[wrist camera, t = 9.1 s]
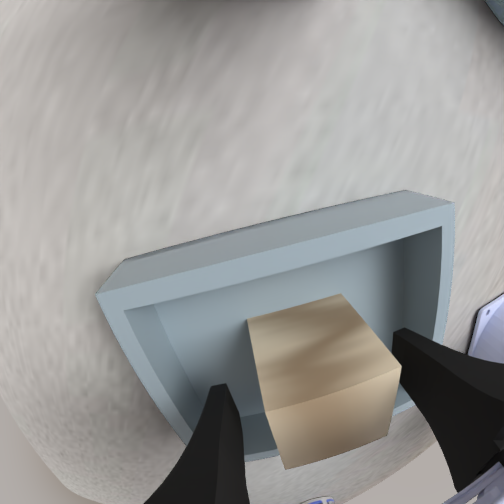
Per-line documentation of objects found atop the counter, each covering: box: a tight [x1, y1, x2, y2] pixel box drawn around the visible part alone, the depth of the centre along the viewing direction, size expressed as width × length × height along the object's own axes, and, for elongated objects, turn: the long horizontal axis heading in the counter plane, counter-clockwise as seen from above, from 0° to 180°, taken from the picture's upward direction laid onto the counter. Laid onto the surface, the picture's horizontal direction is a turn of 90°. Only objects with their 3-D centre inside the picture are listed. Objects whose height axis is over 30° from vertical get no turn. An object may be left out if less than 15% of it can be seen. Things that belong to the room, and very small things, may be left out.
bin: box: [95, 190, 455, 462], centre depth 12 cm, size 14×12×4 cm
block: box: [247, 293, 402, 470], centre depth 11 cm, size 4×4×6 cm
